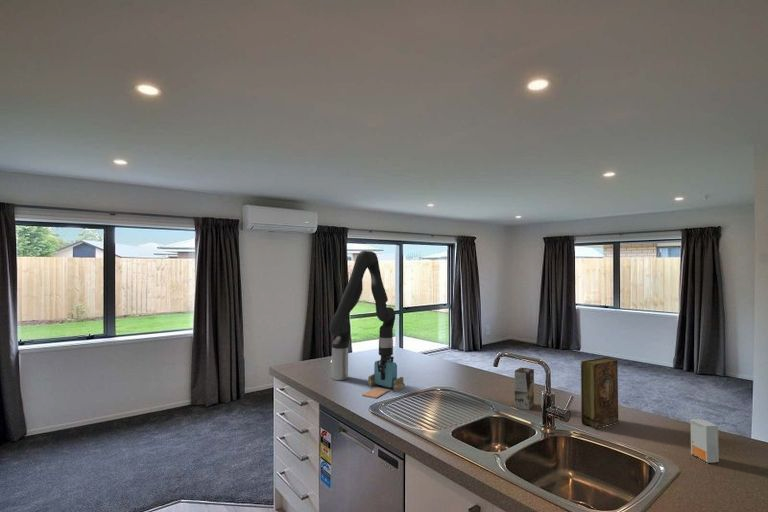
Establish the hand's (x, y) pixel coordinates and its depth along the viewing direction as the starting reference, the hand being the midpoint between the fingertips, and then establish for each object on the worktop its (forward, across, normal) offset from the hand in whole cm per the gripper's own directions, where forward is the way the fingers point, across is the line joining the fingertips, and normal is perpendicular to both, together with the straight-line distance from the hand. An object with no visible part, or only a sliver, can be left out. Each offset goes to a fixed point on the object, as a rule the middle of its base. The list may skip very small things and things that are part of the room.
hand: (385, 378), depth 200 cm
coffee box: (+4, -6, +68) cm, 69 cm away
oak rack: (+4, 0, 0) cm, 4 cm away
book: (+4, 0, +98) cm, 98 cm away
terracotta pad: (+4, +12, +1) cm, 13 cm away
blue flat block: (+4, 0, 0) cm, 4 cm away
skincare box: (+3, +17, +127) cm, 128 cm away
